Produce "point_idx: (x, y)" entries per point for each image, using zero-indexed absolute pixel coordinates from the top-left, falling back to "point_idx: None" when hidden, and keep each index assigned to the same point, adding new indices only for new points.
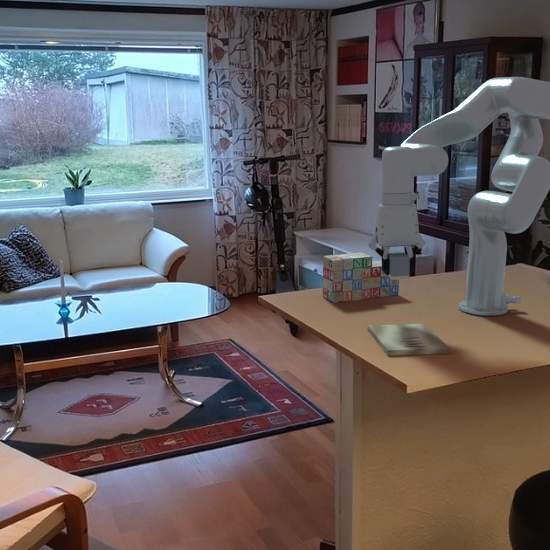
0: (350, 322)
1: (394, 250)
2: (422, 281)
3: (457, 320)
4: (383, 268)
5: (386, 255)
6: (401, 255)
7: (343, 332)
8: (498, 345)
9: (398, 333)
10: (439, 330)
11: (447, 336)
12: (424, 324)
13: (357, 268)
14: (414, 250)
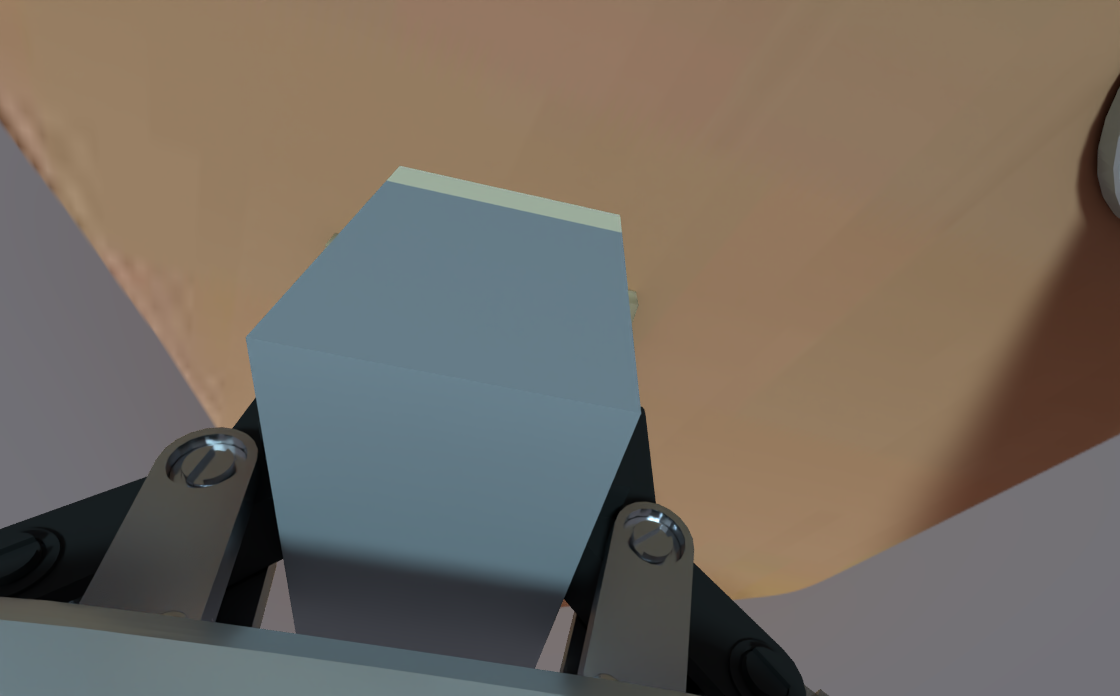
0: (253, 57)
1: (483, 429)
2: None
3: (904, 231)
4: None
5: (248, 578)
6: (447, 655)
7: (194, 228)
8: (765, 509)
9: None
10: (688, 336)
11: (665, 403)
12: (632, 317)
13: None
14: (686, 689)
